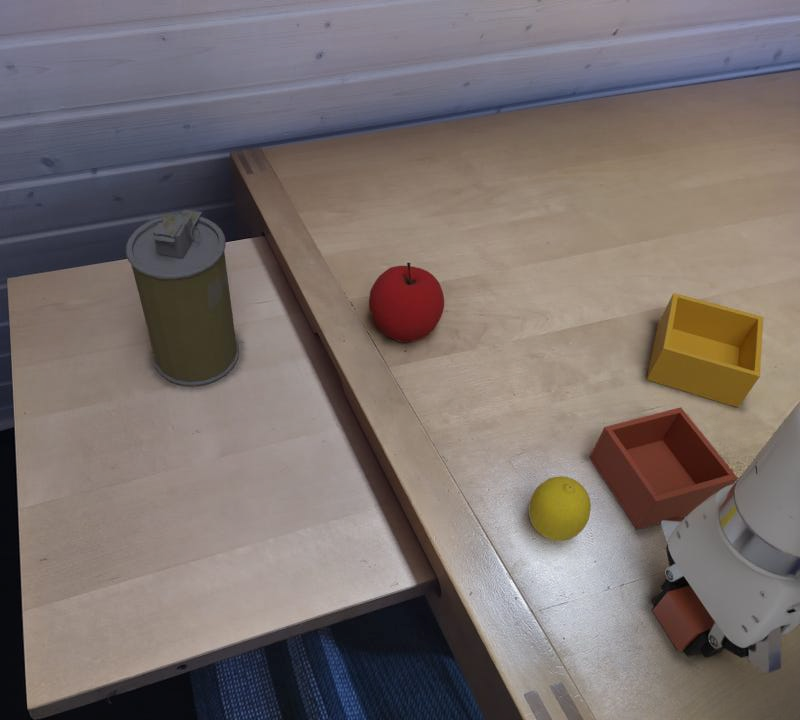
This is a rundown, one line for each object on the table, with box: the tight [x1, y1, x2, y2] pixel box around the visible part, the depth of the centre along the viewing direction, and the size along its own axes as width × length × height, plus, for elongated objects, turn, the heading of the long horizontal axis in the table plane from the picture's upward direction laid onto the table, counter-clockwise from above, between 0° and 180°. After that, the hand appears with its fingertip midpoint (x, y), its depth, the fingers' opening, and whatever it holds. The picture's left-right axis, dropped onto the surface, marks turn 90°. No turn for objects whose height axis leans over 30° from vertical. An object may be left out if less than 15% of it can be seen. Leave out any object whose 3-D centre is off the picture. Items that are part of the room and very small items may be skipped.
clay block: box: [652, 585, 715, 652], centre depth 64 cm, size 4×4×4 cm
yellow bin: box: [646, 292, 764, 408], centre depth 85 cm, size 10×10×6 cm
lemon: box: [528, 475, 592, 542], centre depth 69 cm, size 6×6×8 cm
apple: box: [368, 262, 445, 343], centre depth 87 cm, size 9×9×10 cm
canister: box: [125, 209, 240, 387], centre depth 81 cm, size 11×10×20 cm
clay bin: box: [589, 406, 739, 531], centre depth 73 cm, size 9×9×6 cm
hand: (685, 623), depth 65 cm, fingers closed on clay block, 4 cm apart
